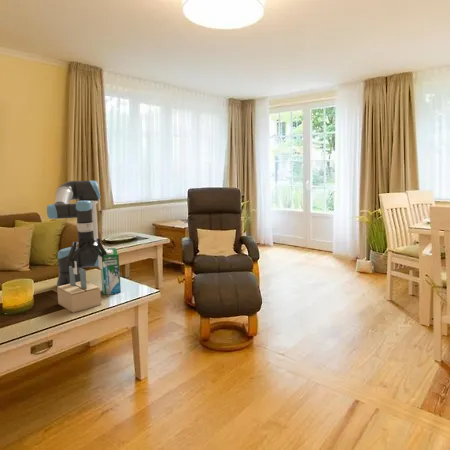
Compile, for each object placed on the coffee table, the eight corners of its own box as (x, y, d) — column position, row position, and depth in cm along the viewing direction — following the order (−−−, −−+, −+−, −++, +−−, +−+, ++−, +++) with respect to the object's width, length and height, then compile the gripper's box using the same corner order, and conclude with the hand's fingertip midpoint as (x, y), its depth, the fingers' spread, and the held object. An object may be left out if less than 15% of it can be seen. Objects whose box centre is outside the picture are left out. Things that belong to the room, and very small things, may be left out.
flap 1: (57, 287, 191) (56, 268, 189) (70, 284, 196) (69, 265, 194) (71, 294, 179) (69, 274, 177) (84, 291, 184) (83, 271, 182)
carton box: (58, 304, 192) (57, 287, 191) (85, 297, 203) (84, 281, 202) (72, 312, 180) (71, 295, 179) (101, 304, 191) (100, 288, 189)
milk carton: (104, 295, 206) (101, 252, 202) (102, 290, 214) (99, 249, 210) (120, 292, 210) (118, 250, 206) (117, 288, 218) (115, 247, 214)
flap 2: (72, 284, 196) (71, 265, 195) (84, 281, 201) (83, 262, 200) (86, 290, 185) (85, 270, 183) (99, 287, 189) (98, 268, 188)
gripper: (63, 234, 174) (67, 277, 177) (111, 228, 192) (113, 267, 195) (57, 233, 179) (61, 274, 182) (104, 227, 197) (107, 265, 200)
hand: (88, 271), depth 189 cm, fingers open, 13 cm apart
